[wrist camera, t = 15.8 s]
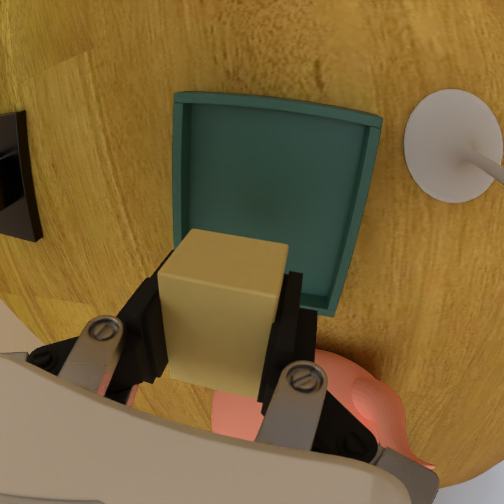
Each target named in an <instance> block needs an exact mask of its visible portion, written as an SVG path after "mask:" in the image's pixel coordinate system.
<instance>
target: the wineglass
mask: <svg viewBox="0 0 504 504" xmlns="http://www.w3.org/2000/svg"><path fill="white" fill-rule="evenodd" d="M403 147H404V157H405V160H406V164H407V168H408V170H409V171H410V173H411V175H412V177H413V179H414V181H415V182H416V183H417V184H418V185H419V186H420V187H421V189H422V190H423V191H424V192H426V193H427V194H429V195H430V196H431V197H433V198H435V199H438V200H440V201H443V202H448V203H461V202H467V201H469V200H472V199H474V198H476V197H478V196H479V195H481V194H482V193H483V192H484V191H486V190H487V189H488V187H489V186H490V185H491V184H492V182H493V181H494V180H495V179H496V180H498V181H499V182H500V183H502V184H503V185H504V167H503V166H501V162H502V157H503V139H502V134H501V129H500V127H499V124H498V122H497V119H496V117H495V115H494V114H493V113H492V111H491V110H490V108H489V107H488V106H487V105H486V104H485V103H484V102H483V101H482V100H481V99H479V98H478V97H476V96H475V95H473V94H471V93H469V92H467V91H462V90H457V89H445V90H439V91H437V92H434V93H432V94H429V95H428V96H427V97H425V98H424V99H423V100H421V101H420V102H419V103H418V104H417V106H416V107H415V108H414V110H413V111H412V112H411V114H410V117H409V119H408V121H407V124H406V126H405V132H404V138H403Z"/></svg>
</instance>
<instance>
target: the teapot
mask: <svg viewBox="0 0 504 504" xmlns="http://www.w3.org/2000/svg"><path fill="white" fill-rule="evenodd" d="M315 363H316V364H317V365H319V366H320V367H322V368H323V370H324V371H325V372H326V374H327V377H328V386H327V390H328V391H329V392H330V393H331V394H332V395H333V396H334V397H335V398H336V399H337V400H338V401H339V402H340V403H341V404H342V405H343V406H344V407H345V408H346V409H348V410H349V411H350V412H351V413H352V414H353V415H354V416H355V417H356V418H357V419H358V420H359V421H360V422H361V423H362V424H363V425H364V426H365V427H366V428H368V429H369V430H370V431H371V432H372V434H373V435H374V436H375V437H376V440H377V443H379V442H380V446H382V447H384V448H386V447H387V446H388V447H390V448H392V449H393V450H395V451H397V452H399V453H401V454H402V455H404V456H406V457H408V458H410V459H412V460H414V461H415V462H417V463H419V464H421V465H423V466H425V467H427V468H429V469H434V468H436V466H435V465H432V464H430V463H427V462H425V461H423V460H421V459H419V458H417V457H416V456H415V455H414V454H413V453H412V451H411V449H410V447H409V445H408V440H407V433H406V418H405V411H404V407H403V404H402V401H401V399H400V398H399V396H398V395H397V394H396V392H395V391H394V390H393V389H392V388H391V387H389V386H388V385H386V384H385V383H383V382H381V381H379V380H376V379H375V378H374V377H373V376H372V375H371V374H370V373H369V372H367V371H366V370H365V369H363V368H362V367H360V366H359V365H358V364H356V363H354V362H352V361H350V360H349V359H347V358H344V357H343V356H340V355H338V354H335V353H332V352H328V351H325V350H320V349H315ZM262 404H263V403H260V402H257V399H256V398H251V397H246V396H241V395H236V394H232V393H227V392H223V391H219V390H215V392H214V396H213V402H212V412H211V423H212V431H213V433H217V434H222V435H226V436H230V437H234V438H239V439H244V440H248V441H253V442H254V441H255V438H256V436H257V433H258V431H259V429H260V426H261V424H262V421H263V419H264V416H263V415H262V414H261V409H262Z"/></svg>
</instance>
